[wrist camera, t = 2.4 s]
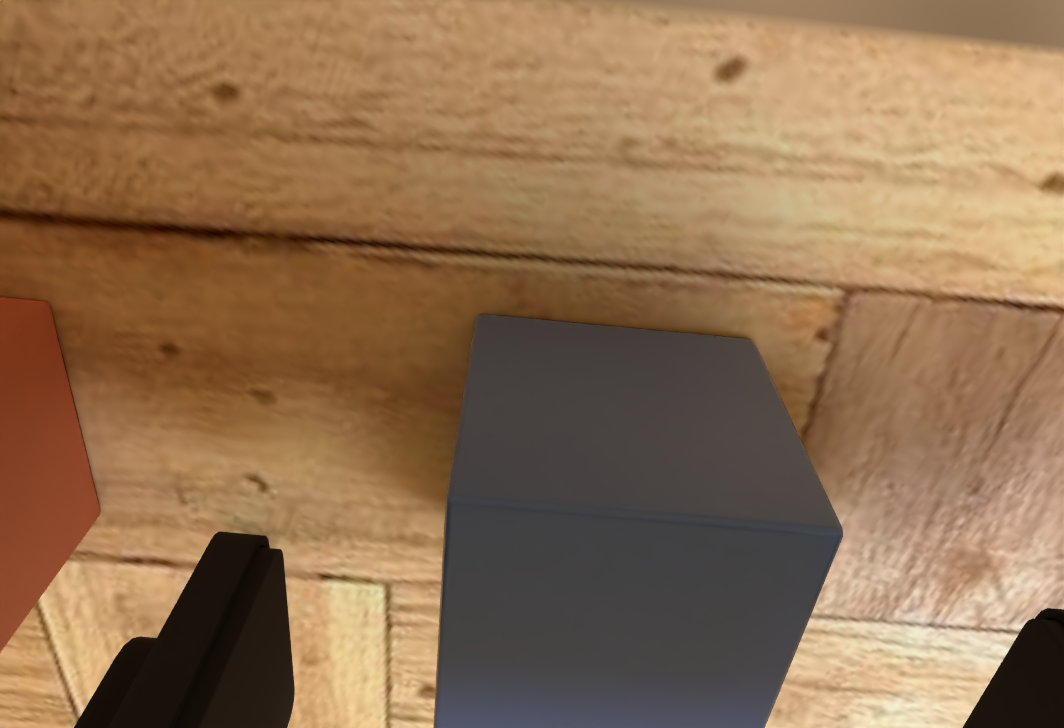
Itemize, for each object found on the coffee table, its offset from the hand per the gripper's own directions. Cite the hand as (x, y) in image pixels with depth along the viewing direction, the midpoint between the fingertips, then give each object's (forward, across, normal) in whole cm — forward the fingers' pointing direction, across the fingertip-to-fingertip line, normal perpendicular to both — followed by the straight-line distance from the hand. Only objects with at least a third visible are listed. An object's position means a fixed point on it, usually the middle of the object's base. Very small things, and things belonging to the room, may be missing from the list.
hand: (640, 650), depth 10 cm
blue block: (+4, 0, 0) cm, 4 cm away
